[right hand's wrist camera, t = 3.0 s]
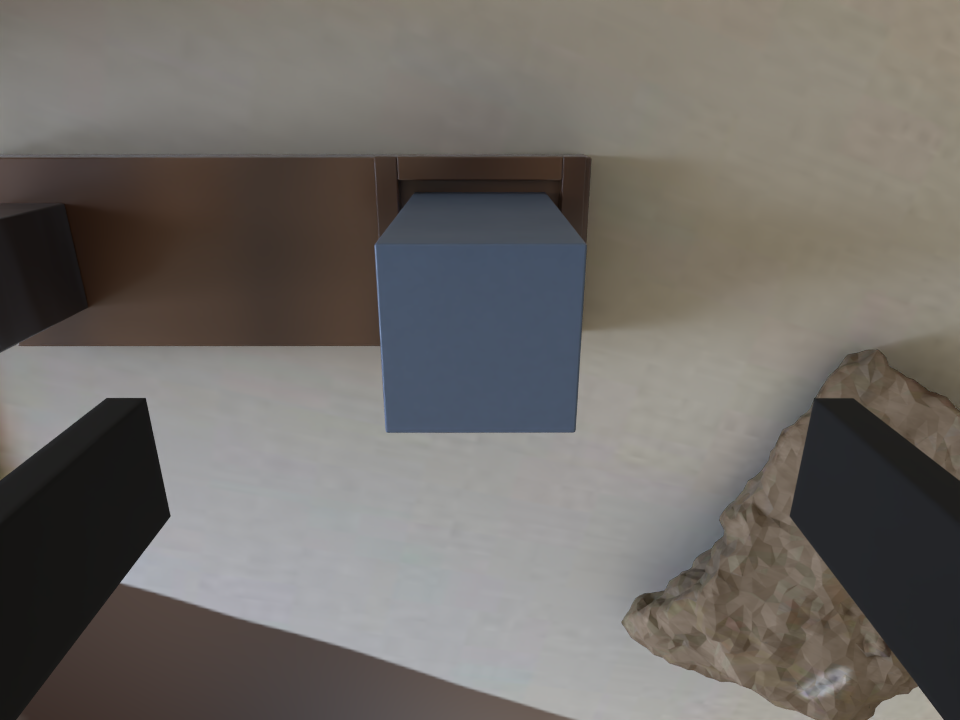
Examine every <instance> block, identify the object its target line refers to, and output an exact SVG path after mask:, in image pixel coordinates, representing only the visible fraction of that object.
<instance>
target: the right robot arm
mask: <svg viewBox="0 0 960 720" xmlns="http://www.w3.org/2000/svg"><path fill="white" fill-rule="evenodd" d="M169 518H170V512H169V507H168V502H167V497H166V492H165V488H164V483H163V478H162V473H161V469H160V464H159V459H158V454H157V450H156V445H155V440H154V435H153V431H152V426H151V421H150V416H149V411H148V407H147V402H146V398H106V399H105V400H104V401H102V402H101V403H100V404H98V405H97V406H96V407H95V408H93V409H92V410H91V411H89V412H88V413H87V414H86V415H84V416H83V417H82V418H80V419H79V420H78V421H77V422H75V423H74V424H73V425H71V426H70V427H69V428H68V429H66V430H65V431H64V432H62V433H61V434H60V435H58V436H57V437H56V438H55V439H53V440H52V441H51V442H49V443H48V444H47V445H46V446H44V447H43V448H42V449H40V450H39V451H38V452H37V453H35V454H34V455H33V456H31V457H30V458H29V459H28V460H26V461H25V462H24V463H22V464H21V465H20V466H19V467H17V468H16V469H15V470H13V471H12V472H11V473H9V474H8V475H7V476H6V477H4V478H3V479H2V480H0V720H16V719H17V718H18V717H19V715H20V714H21V713H22V711H23V710H24V709H25V707H26V706H27V705H28V703H29V702H30V701H31V699H32V698H33V697H34V695H35V694H36V693H37V692H38V690H39V689H40V688H41V686H42V685H43V684H44V682H45V681H46V680H47V678H48V677H49V676H50V674H51V673H52V672H53V670H54V669H55V668H56V666H57V665H58V664H59V663H60V661H61V660H62V659H63V657H64V656H65V655H66V653H67V652H68V651H69V649H70V648H71V647H72V645H73V644H74V643H75V641H76V640H77V639H78V638H79V636H80V635H81V634H82V632H83V631H84V630H85V628H86V627H87V626H88V624H89V623H90V622H91V620H92V619H93V618H94V616H95V615H96V614H97V613H98V611H99V610H100V609H101V607H102V606H103V605H104V603H105V602H106V601H107V599H108V598H109V597H110V595H111V594H112V593H113V591H114V590H115V589H116V587H117V586H118V585H119V584H120V582H121V581H122V580H123V578H124V577H125V576H126V574H127V573H128V572H129V570H130V569H131V568H132V566H133V565H134V564H135V562H136V561H137V560H138V558H139V557H140V556H141V555H142V553H143V552H144V551H145V549H146V548H147V547H148V545H149V544H150V543H151V541H152V540H153V539H154V537H155V536H156V535H157V533H158V532H159V531H160V530H161V528H162V527H163V526H164V524H165V523H166V522H167V520H168V519H169ZM790 518H791V519H792V520H793V522H794V523H795V524H796V526H797V527H798V528H799V530H800V531H801V532H802V533H803V535H804V536H805V537H806V539H807V540H808V541H809V543H810V544H811V545H812V547H813V548H814V549H815V551H816V552H817V553H818V555H819V556H820V557H821V558H822V560H823V561H824V562H825V564H826V565H827V566H828V568H829V569H830V570H831V572H832V573H833V574H834V576H835V577H836V578H837V580H838V581H839V582H840V584H841V585H842V586H843V587H844V589H845V590H846V591H847V593H848V594H849V595H850V597H851V598H852V599H853V601H854V602H855V603H856V605H857V606H858V607H859V609H860V610H861V611H862V613H863V614H864V615H865V616H866V618H867V619H868V620H869V622H870V623H871V624H872V626H873V627H874V628H875V630H876V631H877V632H878V634H879V635H880V636H881V638H882V639H883V640H884V641H885V643H886V644H887V645H888V647H889V648H890V649H891V651H892V652H893V653H894V655H895V656H896V657H897V659H898V660H899V661H900V663H901V664H902V665H903V667H904V668H905V669H906V670H907V672H908V673H909V674H910V676H911V677H912V678H913V680H914V681H915V682H916V684H917V685H918V686H919V688H920V689H921V690H922V692H923V693H924V694H925V695H926V697H927V698H928V699H929V701H930V702H931V703H932V705H933V706H934V707H935V709H936V710H937V711H938V713H939V714H940V715H941V717H942V718H943V719H944V720H960V480H958V479H957V478H956V477H954V476H953V475H952V474H951V473H949V472H948V471H947V470H945V469H944V468H943V467H941V466H940V465H939V464H938V463H936V462H935V461H934V460H932V459H931V458H930V457H929V456H927V455H926V454H925V453H923V452H922V451H921V450H920V449H918V448H917V447H916V446H914V445H913V444H912V443H911V442H909V441H908V440H907V439H905V438H904V437H903V436H902V435H900V434H899V433H898V432H896V431H895V430H894V429H892V428H891V427H890V426H889V425H887V424H886V423H885V422H883V421H882V420H881V419H880V418H878V417H877V416H876V415H874V414H873V413H872V412H871V411H869V410H868V409H867V408H865V407H864V406H863V405H862V404H860V403H859V402H858V401H856V400H855V399H854V398H814V402H813V407H812V411H811V416H810V421H809V426H808V431H807V435H806V440H805V445H804V450H803V454H802V459H801V464H800V469H799V473H798V478H797V483H796V488H795V492H794V497H793V502H792V507H791V511H790Z"/></svg>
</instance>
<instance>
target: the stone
mask: <svg viewBox="0 0 960 720" xmlns="http://www.w3.org/2000/svg"><path fill="white" fill-rule="evenodd" d="M816 398H854V399H855V400H856V401H858V402H859V403H860V404H862V405H863V406H864V407H865V408H867V409H868V410H869V411H871V412H872V413H873V414H874V415H876V416H877V417H878V418H880V419H881V420H882V421H883V422H885V423H886V424H887V425H889V426H890V427H891V428H892V429H894V430H895V431H896V432H898V433H899V434H900V435H902V436H903V437H904V438H905V439H907V440H908V441H909V442H911V443H912V444H913V445H914V446H916V447H917V448H918V449H920V450H921V451H922V452H923V453H925V454H926V455H927V456H929V457H930V458H931V459H932V460H934V461H935V462H936V463H938V464H939V465H940V466H941V467H943V468H944V469H945V470H947V471H948V472H949V473H951V474H952V475H953V476H954V477H956V478H957V479H958V480H960V411H959V410H957V409H956V407H955V406H954V405H953V404H952V403H951V402H950V401H949V399H948V398H947V397H945V396H942V395H939V394H937V393H935V392H930V391H928V390H927V389H926V388H924V387H923V386H922V385H920V384H919V383H918V382H916V381H915V380H913V379H910V378H907V377H905V376H904V375H903V374H902V373H900V372H898V371H897V370H895V369H893V368H891V367H890V366H888V362H887V358H886V357H885V356H884V355H883V354H882V353H881V352H880V351H879V350H866V351H862V352H859V353H854V354H849V355H847V356H846V357H845V358H844V360H843V361H842V363H841V364H840V366H839V368H838V369H836V370H835V371H834V372H833V373H832V374H831V375H830V376H829V377H828V379H827V380H826V382H825V383H824V385H823V386H822V388H821V389H820V391H819V393H818V394H817V396H816ZM813 402H814V401H813ZM812 407H813V404H812V406H811V408H810V409H809V410H808V411H807V413H806V414H804V415H802V416H801V417H800V418H799V419H798V420H797V421H796V423H795V424H793V425H791V426H789V427H787V428H785V429H783V430H782V433H781V435H780V437H779V439H778V441H777V443H776V446H775V448H774V449H773V450H772V451H771V452H770V457H769V461H768V462H767V464H766V465H765V466H764V468H763V469H762V471H761V472H760V473H759V474H758V475H756V476H755V477H754V478H752V479H750V480H749V481H748V482H747V484H746V486H745V488H744V490H743V491H742V492H741V494H740V495H739V496H738V497H737V499H736V500H735V501H734V502H732V503H730V504H729V505H728V506H727V508H726V509H725V510H724V512H723V513H722V514H721V516H720V520H719V521H720V523H721V525H722V527H723V528H724V530H725V531H724V536H723V537H722V538H721V539H719V540H718V541H717V542H715V544H714V546H713V548H711V549H710V550H708V551H706V552H704V553H702V554H701V555H699V556H698V557H697V558H696V559H695V561H694V562H693V565H692V568H691V569H689V570H687V571H684V572H681V574H680V575H679V576H677V577H675V578H674V579H672V580H670V581H669V583H668V585H667V587H666V589H665V590H664V591H660V592H654V593H644V594H642V595H640V596H638V597H637V598H636V599H635V600H634V602H633V604H632V606H631V608H630V610H629V612H628V613H627V614H626V615H625V617H624V619H623V620H622V625H623V626H624V627H625V628H626V630H627V632H628V633H629V635H630V636H631V638H633V639H634V640H635V641H637V642H638V643H640V644H641V645H643V646H644V647H646V648H647V649H648V650H650V651H651V652H652V653H653V654H654V655H656V656H659V657H662V658H664V659H665V660H666V661H667V662H669V663H670V664H673V665H677V666H680V667H683V668H685V669H687V670H695V671H696V672H698V673H700V674H702V675H704V676H706V677H708V678H712V679H715V680H718V681H720V682H733V683H737V684H739V685H740V686H743V687H746V688H749V689H752V690H753V691H755V692H756V693H758V694H760V695H761V696H763V697H764V698H766V699H767V700H768V701H769V702H771V703H772V704H774V705H775V706H778V707H781V708H784V709H789V710H795V711H798V712H800V713H802V714H804V715H806V716H809V717H811V718H813V719H816V720H867V719H869V718H870V717H872V716H873V715H874V712H875V708H876V707H877V706H878V705H879V704H880V703H881V702H882V701H884V700H887V699H890V698H892V697H894V696H895V695H899V694H909V692H910V691H911V690H912V689H913V688H915V687H918V685H917V684H916V682H915V681H914V680H913V678H912V677H911V676H910V674H909V673H908V672H907V670H906V669H905V668H904V667H903V665H902V664H901V663H900V661H899V660H898V659H897V657H896V656H895V655H894V653H893V652H892V651H891V649H890V648H889V647H888V645H887V644H886V643H885V641H884V640H883V639H882V638H881V636H880V635H879V634H878V632H877V631H876V630H875V628H874V627H873V626H872V624H871V623H870V622H869V620H868V619H867V618H866V616H865V615H864V614H863V613H862V611H861V610H860V609H859V607H858V606H857V605H856V603H855V602H854V601H853V599H852V598H851V597H850V595H849V594H848V593H847V591H846V590H845V589H844V587H843V586H842V585H841V584H840V582H839V581H838V580H837V578H836V577H835V576H834V574H833V573H832V572H831V570H830V569H829V568H828V566H827V565H826V564H825V562H824V561H823V560H822V558H821V557H820V556H819V555H818V553H817V552H816V551H815V549H814V548H813V547H812V545H811V544H810V543H809V541H808V540H807V539H806V537H805V536H804V535H803V533H802V532H801V531H800V530H799V528H798V527H797V526H796V524H795V523H794V522H793V520H792V519H791V518H790V511H791V507H792V502H793V497H794V492H795V488H796V483H797V478H798V473H799V469H800V464H801V459H802V454H803V450H804V445H805V440H806V435H807V431H808V426H809V421H810V416H811V411H812Z"/></svg>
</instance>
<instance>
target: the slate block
mask: <svg viewBox="0 0 960 720" xmlns="http://www.w3.org/2000/svg"><path fill="white" fill-rule="evenodd" d="M586 252H587V245H586V243H585V242H584V240H583V239H582V238H581V237H580V235H579V234H578V233H577V232H576V230H575V229H574V228H573V227H572V225H571V224H570V223H569V222H568V220H567V219H566V218H565V216H564V215H563V214H562V213H561V211H560V210H559V209H558V208H557V206H556V205H555V204H554V203H553V201H552V200H551V199H550V198H549V196H548V195H547V194H546V193H545V192H415V193H414V194H413V195H412V197H411V198H410V199H409V200H408V202H407V203H406V204H405V206H404V207H403V208H402V210H401V211H400V212H399V214H398V215H397V216H396V217H395V219H394V220H393V221H392V223H391V224H390V225H389V227H388V228H387V229H386V230H385V232H384V233H383V234H382V236H381V237H380V238H379V240H378V241H377V242H376V243H375V262H376V279H377V296H378V312H379V329H380V345H381V362H382V378H383V395H384V411H385V428H386V432H388V433H480V432H575V430H576V415H577V399H578V382H579V366H580V350H581V333H582V317H583V301H584V285H585V268H586Z"/></svg>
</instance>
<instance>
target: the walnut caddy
mask: <svg viewBox="0 0 960 720" xmlns="http://www.w3.org/2000/svg"><path fill="white" fill-rule="evenodd" d="M590 174H591V158H590V157H588V156H586V155H0V352H2V351H4V350H6V349H8V348H10V347H12V346H14V345H16V344H18V345H19V346H381V345H380V329H379V312H378V296H377V279H376V262H375V243H376V242H377V241H378V240H379V238H380V237H381V236H382V234H383V233H384V232H385V230H386V229H387V228H388V227H389V225H390V224H391V223H392V221H393V220H394V219H395V217H396V216H397V215H398V214H399V212H400V211H401V210H402V208H403V207H404V206H405V204H406V203H407V202H408V200H409V199H410V198H411V197H412V195H413V194H414V193H415V192H545V193H546V194H547V195H548V196H549V198H550V199H551V200H552V201H553V203H554V204H555V205H556V206H557V208H558V209H559V210H560V211H561V213H562V214H563V215H564V216H565V218H566V219H567V220H568V222H569V223H570V224H571V225H572V227H573V228H574V229H575V230H576V232H577V233H578V234H579V235H580V237H581V238H582V239H583V240H584V242H585V243H586V240H587V223H588V207H589V190H590Z"/></svg>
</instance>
